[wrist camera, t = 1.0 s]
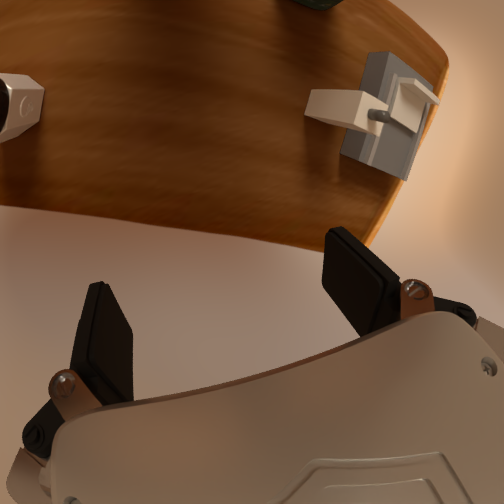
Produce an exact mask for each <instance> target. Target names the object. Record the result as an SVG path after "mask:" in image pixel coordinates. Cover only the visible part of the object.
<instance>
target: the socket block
mask: <svg viewBox="0 0 504 504" xmlns="http://www.w3.org/2000/svg"><path fill="white" fill-rule="evenodd" d="M397 77H403V78H415V79H417V80H418V81H419V82H420V83H421V84H423V85H424V86H425V87H426V88H427V89H428V90H430V91H431V92H432V90H433V86H432V85H431V84H430V83H428V82H427V81H426V80H425V79H424V78H423V77H422V76H420V75H419V74H418V73H417V72H416V71H414V70H413V69H412V68H411V67H409V66H408V65H407V64H406V63H404V62H403V61H402V60H400V59H399V58H398V57H396V56H395V55H394V54H392V53H391V52H390V51H389V52H373V53H369V55H368V59H367V63H366V66H365V70H364V74H363V77H362V81H361V85H360V88H359V91H364V92H366V93H368V94H370V95H372V96H373V97H375V98H377V99H378V100H380V101H382V102H383V103H385V104H387V105H388V109H387V111H388V110H389V107H390V103H391V100H392V96H393V92H394V88H395V85H396V81H397ZM429 106H430V103H426V102H425V106H424V109H423V113H422V117H421V121H420V124H419V128H418V131H417V133H414V132H412V131H411V130H409V129H408V128H406V127H405V126H403V125H401V124H400V123H398V122H397V121H395V120H393V119H392V118H390V121H389V122H388V123H383V126H382V130H381V133H380V136H379V137H378V136H375V135H372V134H368V133H364V132H361V131H357V130H353V129H349V128H348V129H347V132H346V135H345V138H344V141H343V144H342V148H341V151H340V154H343V155H345V156H348V157H350V158H353V159H355V160H357V161H360V162H362V163H365V164H367V165H370V166H372V167H375V168H377V169H380V170H382V171H384V172H387V173H389V174H391V175H393V176H396V177H398V178H400V179H402V180H404V181H407V178H408V175H409V172H410V170H411V167H412V163H413V161H414V158H415V155H416V152H417V149H418V145H419V142H420V139H421V136H422V132H423V129H424V125H425V122H426V118H427V114H428V110H429Z"/></svg>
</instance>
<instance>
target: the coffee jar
mask: <svg viewBox="0 0 504 504" xmlns="http://www.w3.org/2000/svg"><path fill="white" fill-rule="evenodd" d="M293 1H296V2H298V3H300V4H302V5H305V6H308V7H310V8H313V9H316V10H327V9H329V8H331V7H333V6H335V5H337V4H338V3H340V2H341V1H343V0H293Z"/></svg>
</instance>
